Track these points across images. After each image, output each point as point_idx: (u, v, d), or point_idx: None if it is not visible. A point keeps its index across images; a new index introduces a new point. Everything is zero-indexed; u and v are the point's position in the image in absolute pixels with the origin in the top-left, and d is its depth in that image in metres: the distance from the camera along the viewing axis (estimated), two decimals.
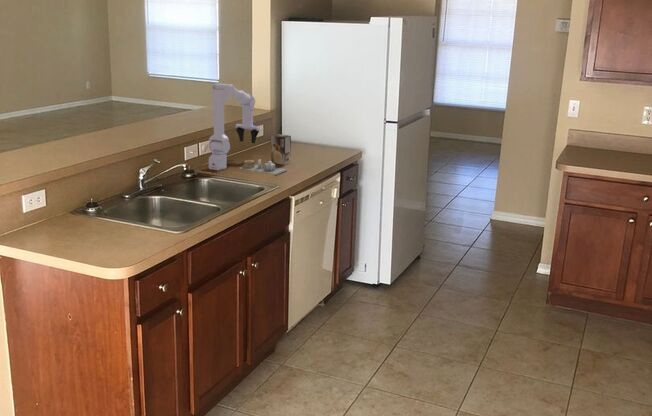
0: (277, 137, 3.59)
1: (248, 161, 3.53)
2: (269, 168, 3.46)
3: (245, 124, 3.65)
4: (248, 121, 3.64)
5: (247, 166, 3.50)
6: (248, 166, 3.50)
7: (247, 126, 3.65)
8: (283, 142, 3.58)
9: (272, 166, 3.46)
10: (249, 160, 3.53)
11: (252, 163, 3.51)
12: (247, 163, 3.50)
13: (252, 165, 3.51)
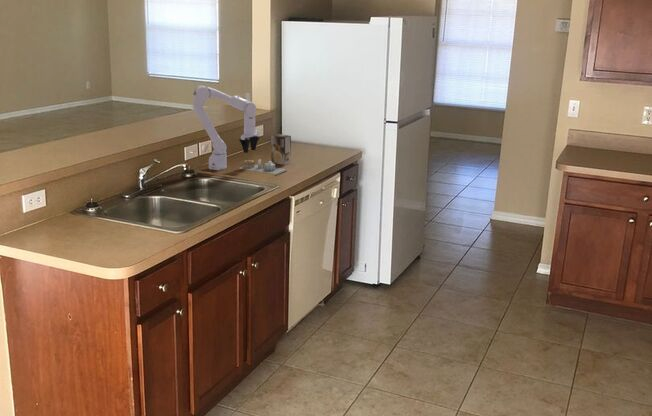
0: (277, 137, 3.59)
1: (248, 161, 3.53)
2: (269, 168, 3.46)
3: None
4: (244, 128, 3.46)
5: (247, 166, 3.50)
6: (248, 166, 3.50)
7: None
8: (283, 142, 3.58)
9: (272, 166, 3.46)
10: (249, 160, 3.53)
11: (252, 163, 3.51)
12: (247, 163, 3.50)
13: (252, 165, 3.51)
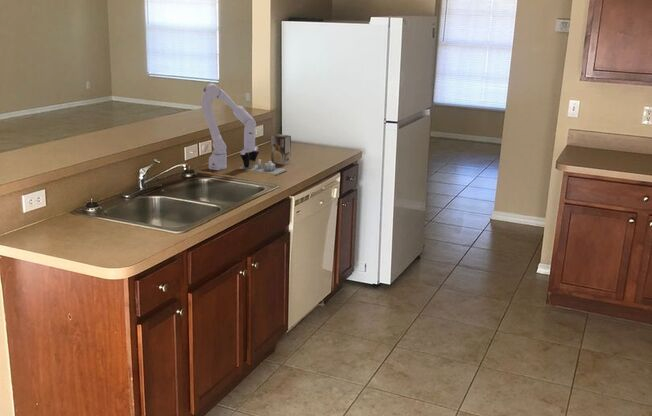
0: (277, 137, 3.59)
1: None
2: (269, 168, 3.46)
3: None
4: (244, 143, 3.48)
5: None
6: None
7: None
8: (283, 142, 3.58)
9: (272, 166, 3.46)
10: (249, 160, 3.53)
11: (252, 163, 3.51)
12: None
13: (252, 165, 3.51)
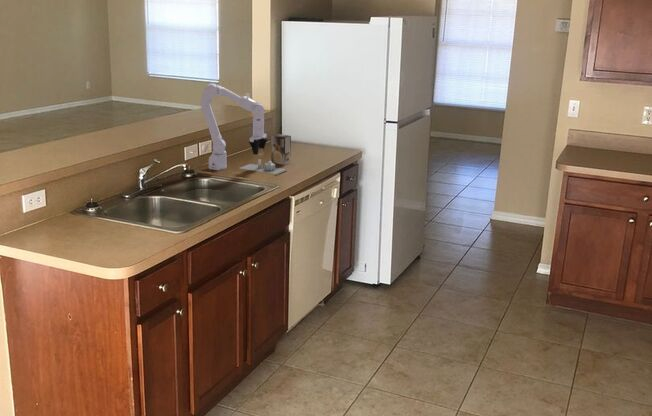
0: (277, 137, 3.59)
1: None
2: (269, 168, 3.46)
3: None
4: (253, 130, 3.44)
5: None
6: (257, 154, 3.46)
7: None
8: (283, 142, 3.58)
9: (272, 166, 3.46)
10: (258, 148, 3.49)
11: (261, 151, 3.47)
12: None
13: (261, 153, 3.47)
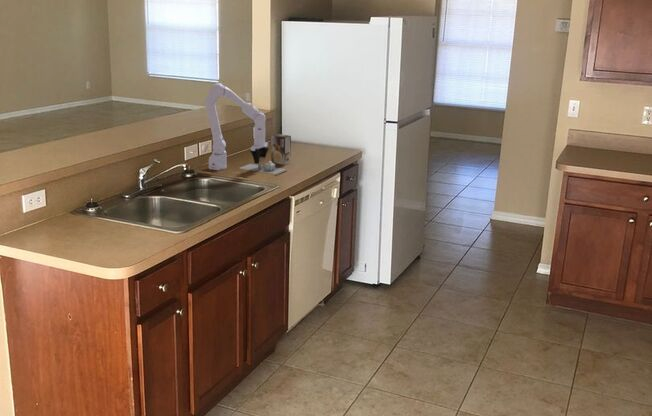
0: (277, 137, 3.59)
1: None
2: (269, 168, 3.46)
3: None
4: (254, 139, 3.45)
5: None
6: (258, 163, 3.47)
7: None
8: (283, 142, 3.58)
9: (272, 166, 3.46)
10: (259, 157, 3.50)
11: (262, 160, 3.47)
12: None
13: (262, 162, 3.48)
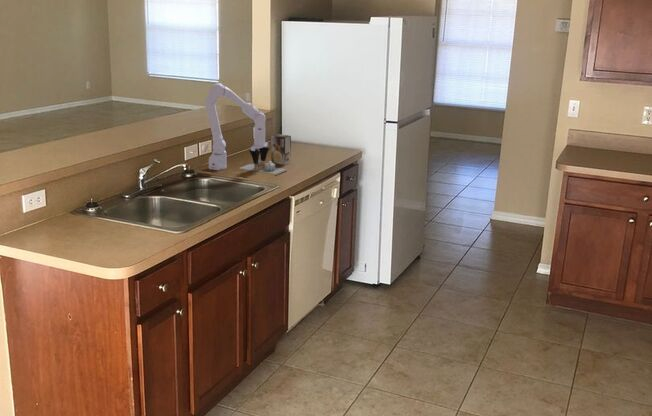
0: (277, 137, 3.59)
1: None
2: (269, 168, 3.46)
3: None
4: (254, 139, 3.45)
5: (257, 167, 3.48)
6: (258, 167, 3.48)
7: None
8: (283, 142, 3.58)
9: (272, 166, 3.46)
10: None
11: (262, 164, 3.48)
12: (257, 164, 3.48)
13: (262, 166, 3.49)
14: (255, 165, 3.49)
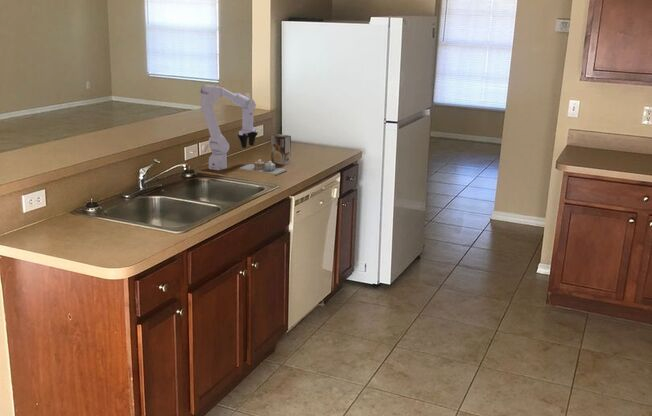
0: (277, 137, 3.59)
1: None
2: (269, 168, 3.46)
3: None
4: (242, 124, 3.55)
5: (257, 167, 3.48)
6: (258, 167, 3.48)
7: (242, 129, 3.56)
8: (283, 142, 3.58)
9: (272, 166, 3.46)
10: None
11: (262, 164, 3.48)
12: (257, 164, 3.48)
13: (262, 166, 3.49)
14: (255, 165, 3.49)
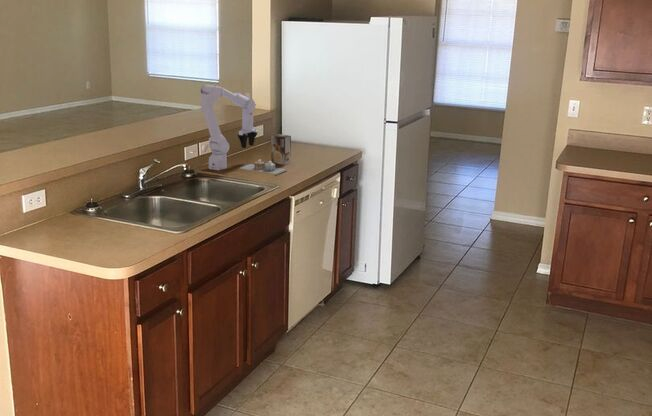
0: (277, 137, 3.59)
1: None
2: (269, 168, 3.46)
3: None
4: (242, 124, 3.55)
5: (257, 167, 3.48)
6: (258, 167, 3.48)
7: (242, 129, 3.57)
8: (283, 142, 3.58)
9: (272, 166, 3.46)
10: None
11: (262, 164, 3.48)
12: (257, 164, 3.48)
13: (262, 166, 3.49)
14: (255, 165, 3.49)
